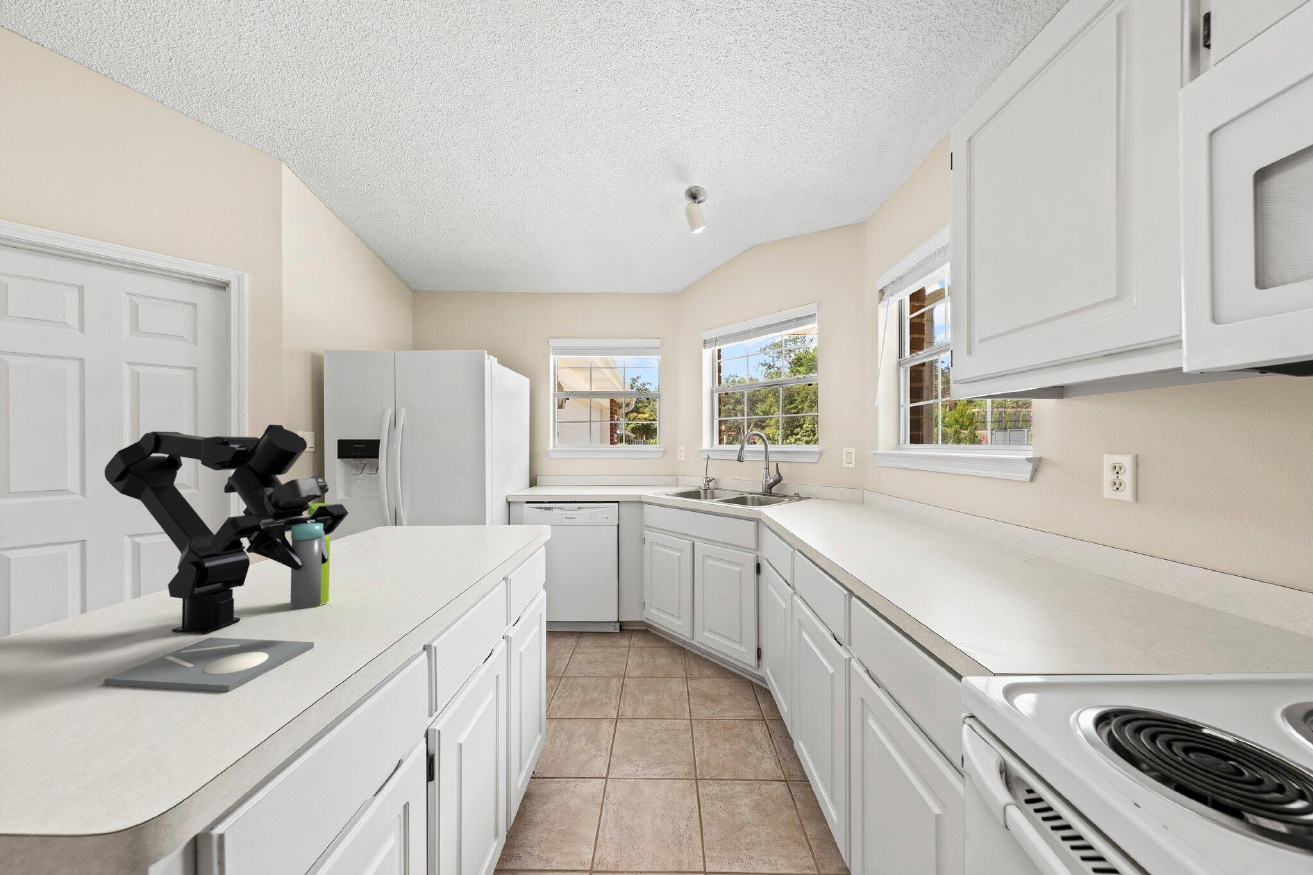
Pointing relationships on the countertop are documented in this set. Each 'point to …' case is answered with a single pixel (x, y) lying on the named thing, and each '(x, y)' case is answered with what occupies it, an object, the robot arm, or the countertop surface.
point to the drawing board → (211, 664)
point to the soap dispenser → (325, 566)
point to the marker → (307, 565)
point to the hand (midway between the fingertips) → (313, 565)
